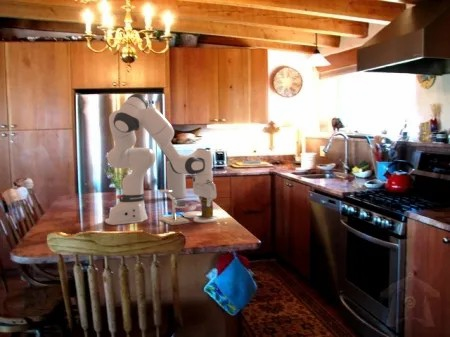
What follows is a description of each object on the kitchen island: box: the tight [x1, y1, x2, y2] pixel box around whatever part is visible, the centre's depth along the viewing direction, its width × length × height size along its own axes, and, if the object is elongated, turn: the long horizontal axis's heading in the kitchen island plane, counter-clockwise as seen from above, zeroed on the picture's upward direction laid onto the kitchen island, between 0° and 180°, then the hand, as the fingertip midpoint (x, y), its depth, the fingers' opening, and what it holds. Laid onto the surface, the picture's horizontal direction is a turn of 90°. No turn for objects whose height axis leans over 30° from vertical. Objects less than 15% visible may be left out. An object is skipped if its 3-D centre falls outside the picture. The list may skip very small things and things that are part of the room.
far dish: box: [181, 210, 202, 219], centre depth 258 cm, size 13×13×1 cm
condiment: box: [196, 197, 216, 219], centre depth 244 cm, size 7×8×12 cm
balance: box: [159, 189, 190, 226], centre depth 243 cm, size 10×26×15 cm, turn 30°
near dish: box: [193, 215, 219, 224], centre depth 245 cm, size 13×13×1 cm
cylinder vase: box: [166, 160, 187, 200], centre depth 319 cm, size 12×12×25 cm
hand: (205, 205), depth 244 cm, fingers closed on condiment, 6 cm apart
